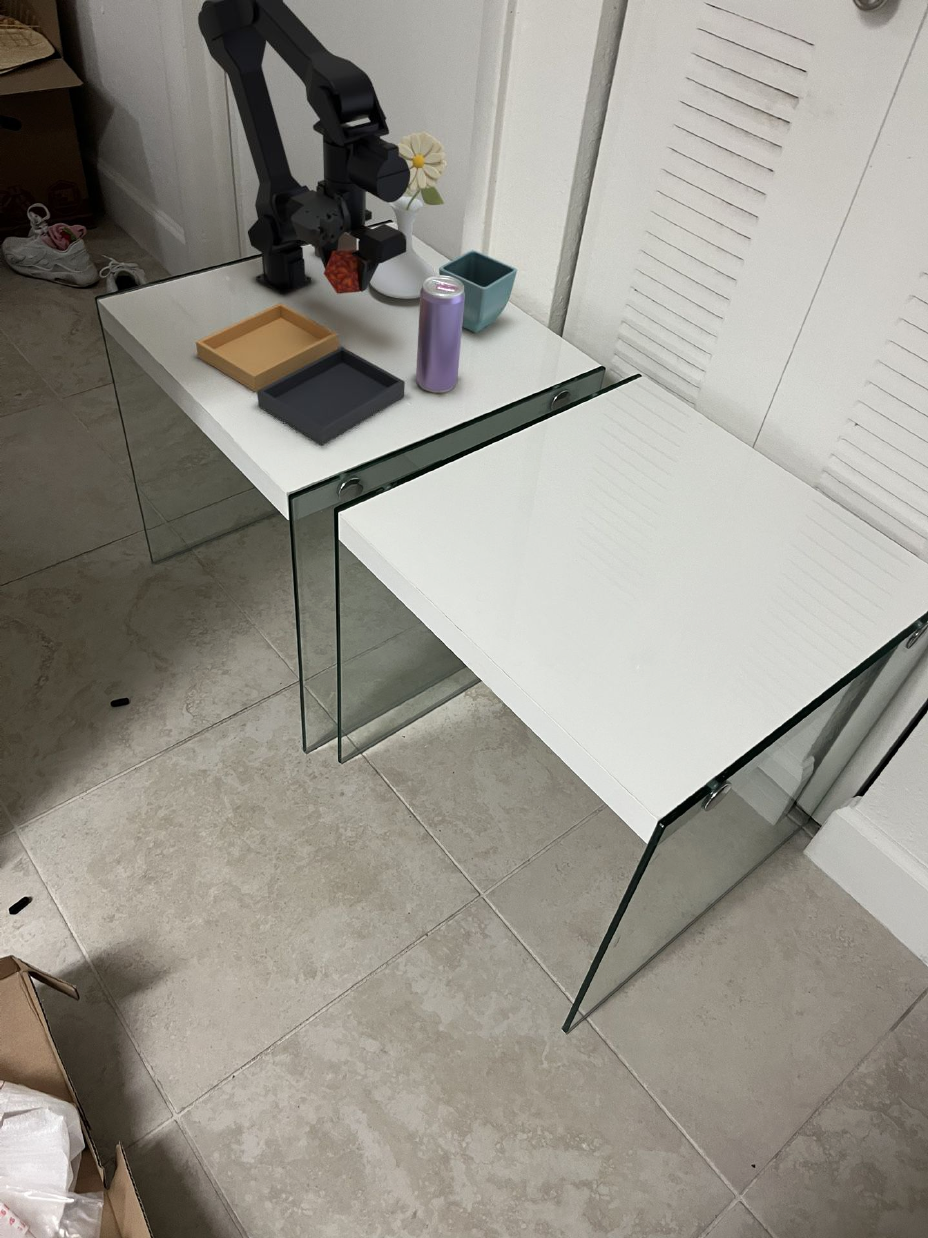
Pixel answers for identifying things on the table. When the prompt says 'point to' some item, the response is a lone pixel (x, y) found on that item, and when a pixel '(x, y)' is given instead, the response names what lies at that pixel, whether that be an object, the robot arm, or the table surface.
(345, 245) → the walnut block
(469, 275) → the flower pot
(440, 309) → the beverage can
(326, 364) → the stone tray
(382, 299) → the table surface
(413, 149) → the flower in vase
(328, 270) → the decorative stone
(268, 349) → the wood tray
